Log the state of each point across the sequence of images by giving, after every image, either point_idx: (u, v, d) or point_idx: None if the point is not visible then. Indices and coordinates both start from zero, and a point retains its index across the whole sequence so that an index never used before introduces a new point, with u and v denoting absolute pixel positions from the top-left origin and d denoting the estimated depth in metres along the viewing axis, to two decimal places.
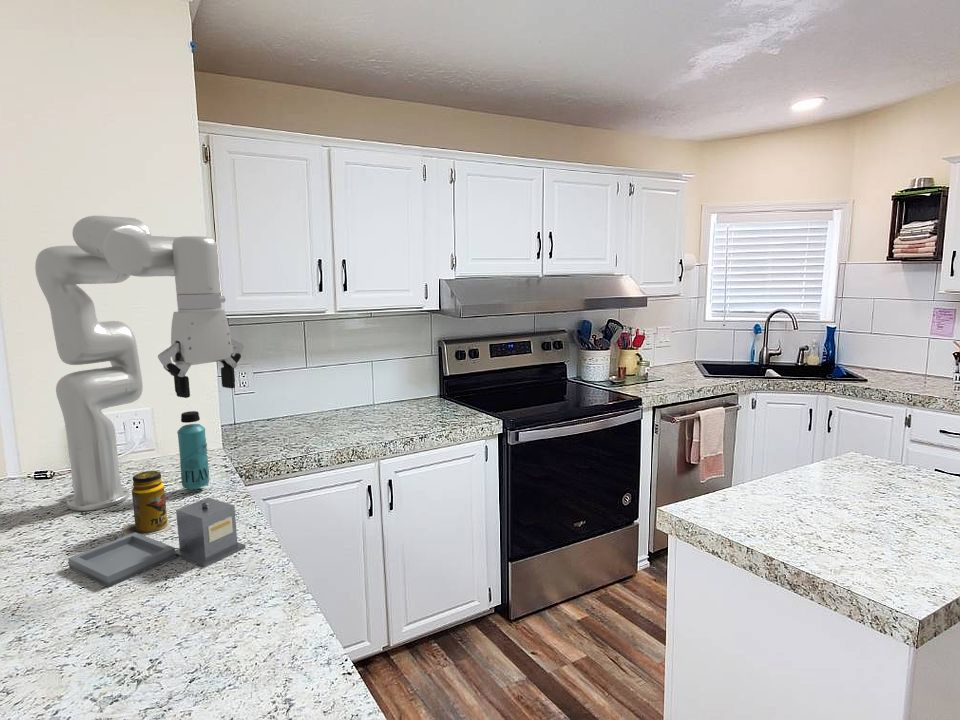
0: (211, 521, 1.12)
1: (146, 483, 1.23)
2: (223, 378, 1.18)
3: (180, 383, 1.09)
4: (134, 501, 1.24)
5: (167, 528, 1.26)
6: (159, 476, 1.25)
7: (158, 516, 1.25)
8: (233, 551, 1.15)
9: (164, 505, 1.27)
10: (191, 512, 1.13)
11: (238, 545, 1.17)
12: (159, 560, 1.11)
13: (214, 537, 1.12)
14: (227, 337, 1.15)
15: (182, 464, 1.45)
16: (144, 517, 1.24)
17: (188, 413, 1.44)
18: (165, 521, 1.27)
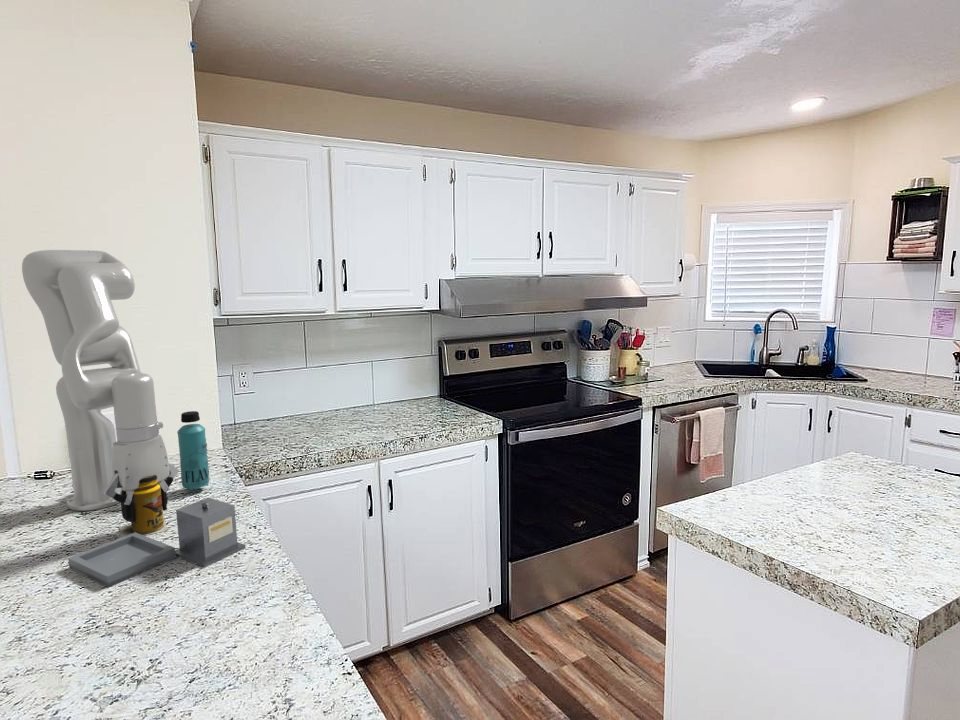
0: (211, 521, 1.12)
1: (142, 484, 1.22)
2: None
3: (126, 510, 1.22)
4: None
5: (163, 529, 1.26)
6: (155, 477, 1.25)
7: (155, 517, 1.24)
8: (233, 551, 1.15)
9: (160, 506, 1.26)
10: (191, 512, 1.13)
11: (238, 545, 1.17)
12: (159, 560, 1.11)
13: (214, 537, 1.12)
14: (164, 460, 1.27)
15: (182, 464, 1.45)
16: (140, 518, 1.23)
17: (188, 413, 1.44)
18: (161, 522, 1.26)
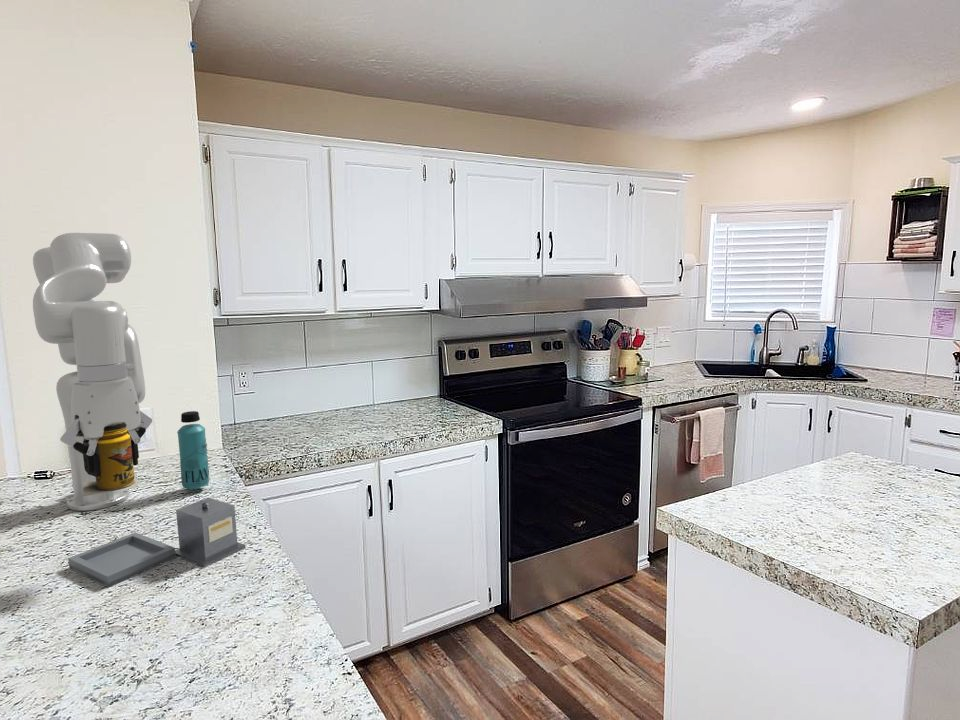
0: (211, 521, 1.12)
1: (108, 431, 1.05)
2: None
3: (89, 462, 1.05)
4: None
5: (133, 486, 1.09)
6: (123, 425, 1.07)
7: (123, 471, 1.07)
8: (233, 551, 1.15)
9: (130, 459, 1.09)
10: (191, 512, 1.13)
11: (238, 545, 1.17)
12: (159, 560, 1.11)
13: (214, 537, 1.12)
14: (135, 407, 1.09)
15: (182, 464, 1.45)
16: (105, 472, 1.06)
17: (188, 413, 1.44)
18: (131, 478, 1.09)
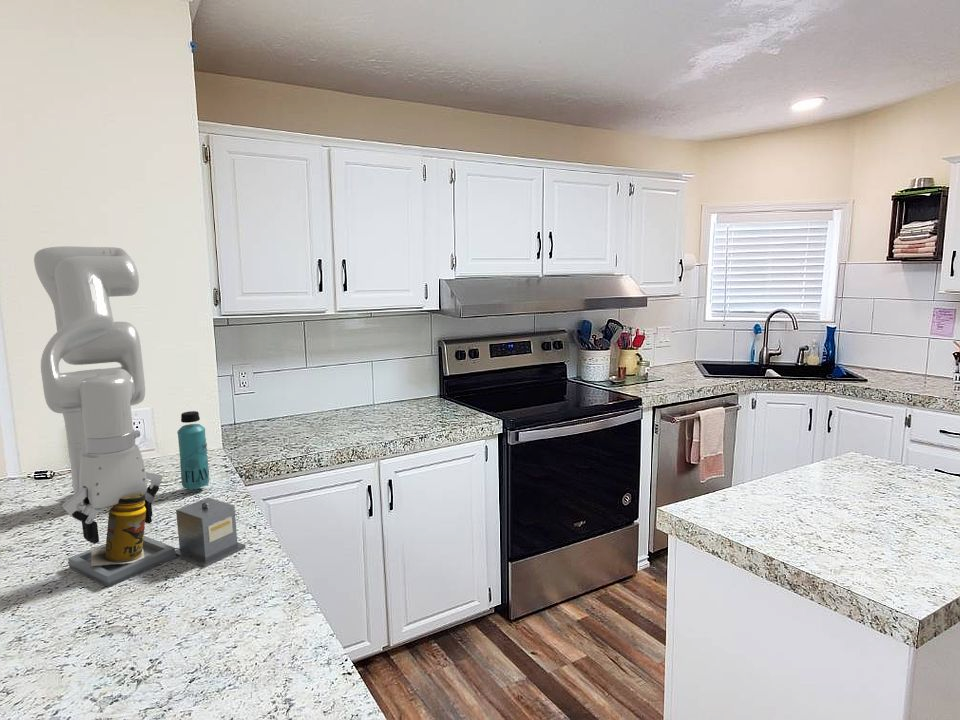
0: (211, 521, 1.12)
1: (127, 504, 1.08)
2: None
3: (88, 529, 1.05)
4: (109, 523, 1.09)
5: None
6: (142, 498, 1.11)
7: (134, 544, 1.10)
8: (233, 551, 1.15)
9: (142, 532, 1.12)
10: (191, 512, 1.13)
11: (238, 545, 1.17)
12: (159, 560, 1.11)
13: (214, 537, 1.12)
14: (141, 474, 1.11)
15: (182, 464, 1.45)
16: (117, 544, 1.08)
17: (188, 413, 1.44)
18: (140, 551, 1.12)
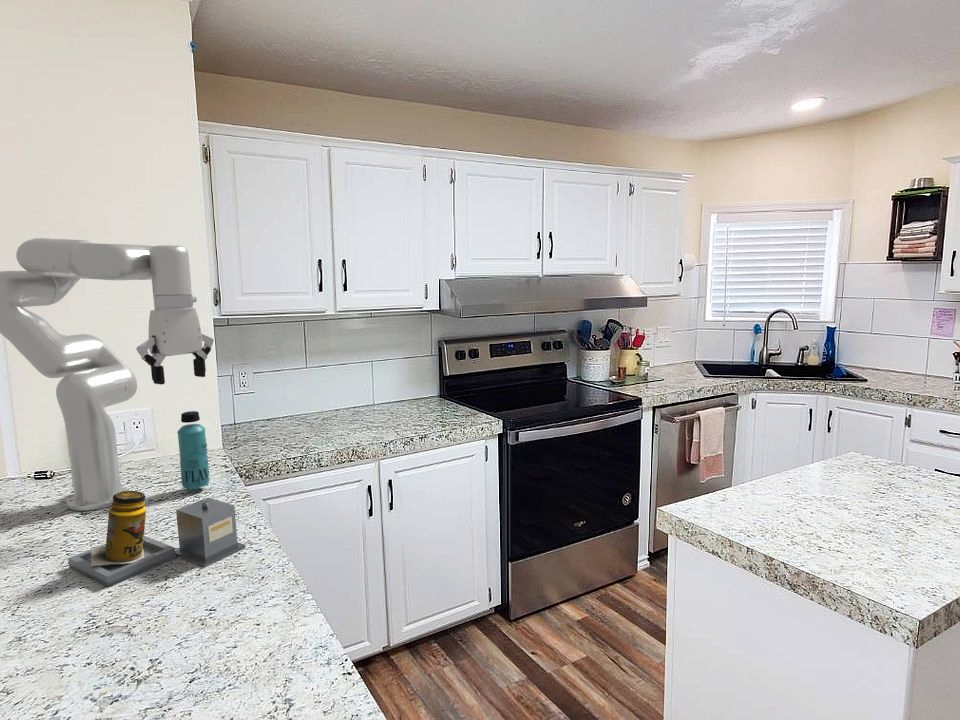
0: (211, 521, 1.12)
1: (127, 504, 1.08)
2: (195, 368, 1.36)
3: (156, 372, 1.26)
4: (109, 523, 1.09)
5: None
6: (142, 498, 1.11)
7: (134, 544, 1.10)
8: (233, 551, 1.15)
9: (142, 532, 1.12)
10: (191, 512, 1.13)
11: (238, 545, 1.17)
12: (159, 560, 1.11)
13: (214, 537, 1.12)
14: (198, 332, 1.32)
15: (182, 464, 1.45)
16: (117, 544, 1.08)
17: (188, 413, 1.44)
18: (140, 551, 1.12)
